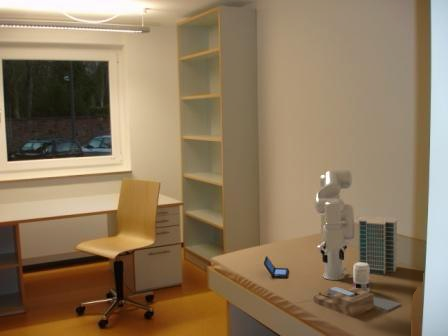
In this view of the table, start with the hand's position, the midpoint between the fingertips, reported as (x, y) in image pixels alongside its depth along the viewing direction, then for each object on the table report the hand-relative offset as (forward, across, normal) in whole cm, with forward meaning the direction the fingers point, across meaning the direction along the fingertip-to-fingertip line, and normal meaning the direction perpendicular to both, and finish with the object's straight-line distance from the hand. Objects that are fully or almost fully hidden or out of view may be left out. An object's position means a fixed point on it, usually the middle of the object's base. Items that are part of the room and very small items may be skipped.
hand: (333, 260), depth 235 cm
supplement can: (+23, -24, -8) cm, 34 cm away
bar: (+20, -4, +1) cm, 20 cm away
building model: (+22, -55, -32) cm, 67 cm away
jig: (+23, -4, +2) cm, 23 cm away
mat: (+23, -21, +8) cm, 32 cm away
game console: (+23, +1, -55) cm, 60 cm away
